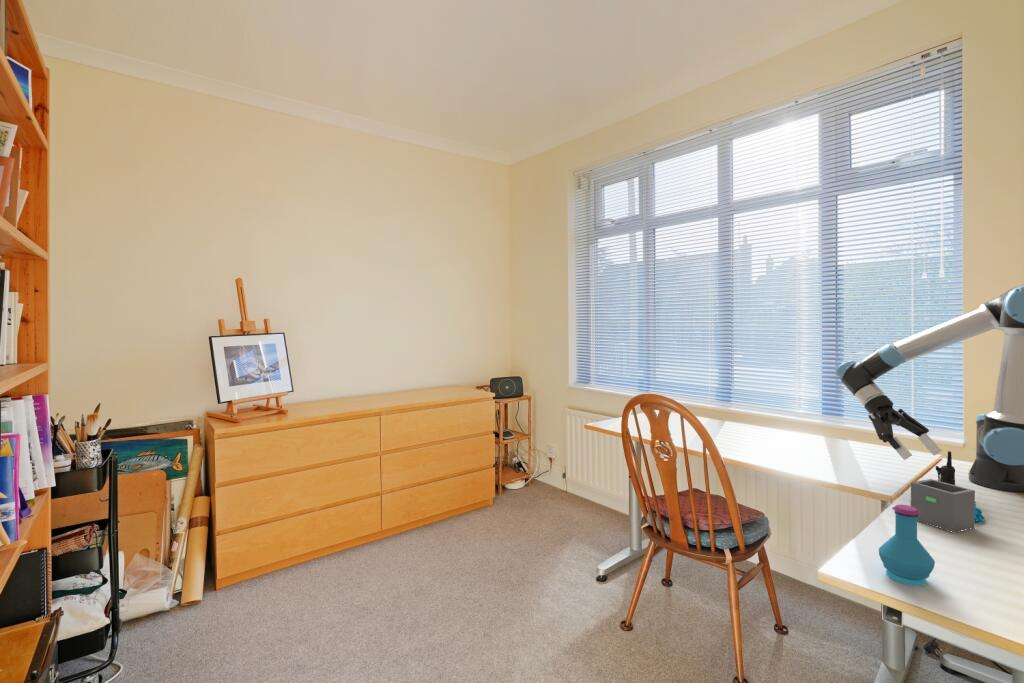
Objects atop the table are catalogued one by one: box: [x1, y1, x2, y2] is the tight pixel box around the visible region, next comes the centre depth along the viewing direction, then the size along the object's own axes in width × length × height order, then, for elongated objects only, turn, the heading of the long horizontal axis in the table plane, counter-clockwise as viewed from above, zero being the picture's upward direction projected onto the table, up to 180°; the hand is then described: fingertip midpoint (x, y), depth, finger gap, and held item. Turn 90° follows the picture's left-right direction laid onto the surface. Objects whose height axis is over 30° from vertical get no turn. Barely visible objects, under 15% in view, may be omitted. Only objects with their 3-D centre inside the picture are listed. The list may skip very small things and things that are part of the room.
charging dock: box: [910, 478, 976, 533], centre depth 127 cm, size 8×10×10 cm
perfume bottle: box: [878, 504, 936, 587], centre depth 101 cm, size 9×9×15 cm
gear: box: [974, 500, 986, 523], centre depth 131 cm, size 11×6×10 cm
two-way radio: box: [935, 450, 956, 485], centre depth 144 cm, size 6×4×15 cm
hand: (923, 455), depth 149 cm, fingers open, 13 cm apart
